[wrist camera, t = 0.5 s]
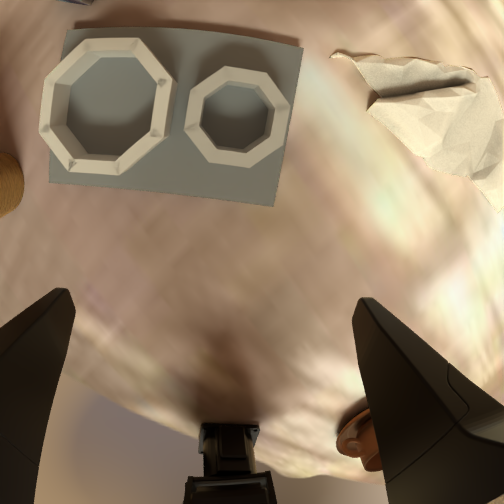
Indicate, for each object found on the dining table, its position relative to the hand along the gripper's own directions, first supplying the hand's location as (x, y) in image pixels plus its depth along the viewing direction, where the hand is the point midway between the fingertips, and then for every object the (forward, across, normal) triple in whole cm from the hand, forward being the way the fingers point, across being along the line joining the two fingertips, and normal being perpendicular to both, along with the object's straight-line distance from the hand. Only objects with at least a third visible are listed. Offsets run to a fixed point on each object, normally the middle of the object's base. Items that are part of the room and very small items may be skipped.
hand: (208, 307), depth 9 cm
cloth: (+17, -20, -4) cm, 26 cm away
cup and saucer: (+10, -19, +30) cm, 38 cm away
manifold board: (+14, +4, -4) cm, 15 cm away
